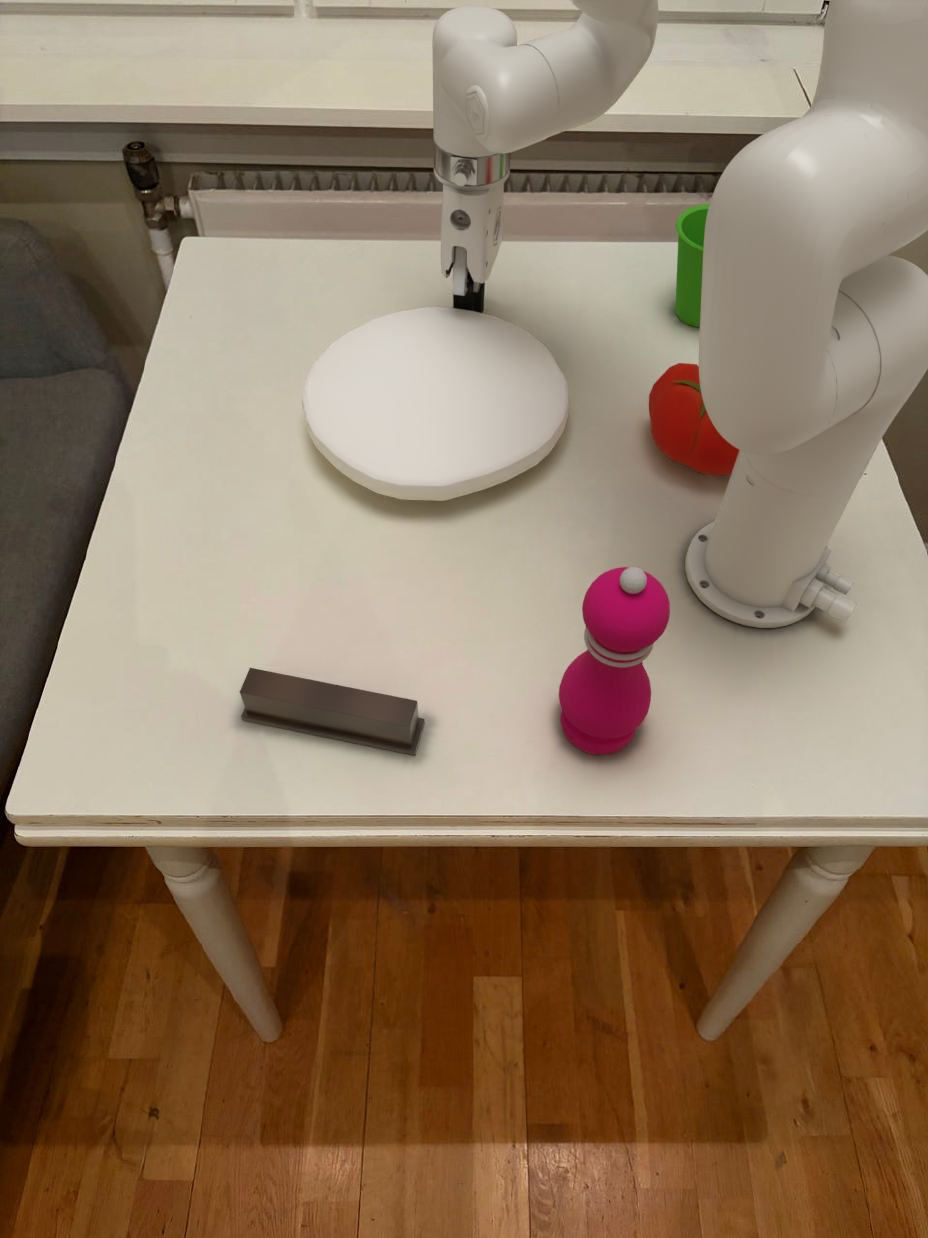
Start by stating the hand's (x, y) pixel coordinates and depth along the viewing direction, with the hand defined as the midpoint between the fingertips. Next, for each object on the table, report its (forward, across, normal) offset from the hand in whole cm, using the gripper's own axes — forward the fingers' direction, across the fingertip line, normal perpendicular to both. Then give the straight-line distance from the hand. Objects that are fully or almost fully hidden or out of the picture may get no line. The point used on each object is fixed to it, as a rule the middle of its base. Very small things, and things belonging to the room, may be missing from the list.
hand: (468, 313), depth 107 cm
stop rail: (+1, -53, -1) cm, 53 cm away
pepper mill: (+1, -48, -22) cm, 53 cm away
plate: (+2, -16, 0) cm, 16 cm away
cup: (+2, +9, -25) cm, 27 cm away
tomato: (+2, -13, -28) cm, 31 cm away
